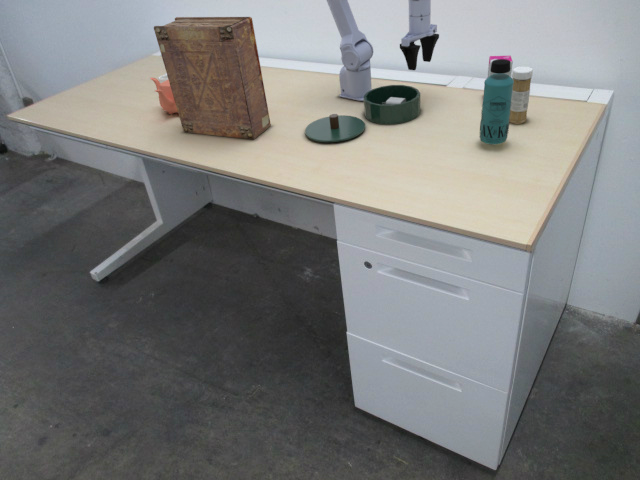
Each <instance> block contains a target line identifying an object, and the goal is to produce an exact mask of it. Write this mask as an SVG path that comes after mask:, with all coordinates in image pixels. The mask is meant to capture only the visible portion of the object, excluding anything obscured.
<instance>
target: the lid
mask: <svg viewBox="0 0 640 480" xmlns="http://www.w3.org/2000/svg"><path fill="white" fill-rule="evenodd" d="M365 129H366V124H365V121H364V120H363V119H361V118H359V117H357V116H352V115H347V114H345V115H343V114H342V115H338V114H337V113H332V114H330V115H329V116H325V117H321V118H318V119H316V120H314V121H311V122H310V123H309V124H308V125H307V126H306V127H305V129H304V134H305V136H306V138H308V139H310V140H311V141H315V142H317V143H318V142H319V143H338V142H344V141H348V140H351V139H353V138H356V137H358V136H360V135H361V134H362V133H363V132H364V131H365Z"/></svg>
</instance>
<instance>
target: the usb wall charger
mask: <svg viewBox="0 0 640 480" xmlns="http://www.w3.org/2000/svg"><path fill="white" fill-rule="evenodd" d="M404 102H406V98H396V97H390V98H389V99H388V100H387V101H386V102H382V105H392V104H400V103H404ZM383 103H384V104H383Z"/></svg>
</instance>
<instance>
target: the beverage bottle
mask: <svg viewBox="0 0 640 480" xmlns="http://www.w3.org/2000/svg"><path fill="white" fill-rule="evenodd" d="M490 71H491V72H493V73H498V74H493V75H491V76H489V77H488V76H487V77H488V78H486V79H485V80H484V81H483V82H484V83H483V84H484V85H483V87H484V88H483V97H482V104H481V111H480V123H479V140H480V141H481V142H482V143H484V144H487V145H500V144H503V143H505V142H506V141H507V139H508V136H509V129H510V123H511V122H509V117H510V112H511V111H510V109H511V99H512V90H513V84H514V80H513V77H512V76H511V77H510V76H509V75H507V74H502V73H507V72H509V71H510V61H509V60H506V59H497V60H494V61H492V65H491V70H490Z"/></svg>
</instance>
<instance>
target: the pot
mask: <svg viewBox="0 0 640 480" xmlns="http://www.w3.org/2000/svg"><path fill="white" fill-rule="evenodd" d="M390 97H396V98H406V102H404V103H400V104H392V105H382V102H386V101H387V100H388V99H389V98H390ZM383 104H384V103H383ZM363 108H364V109H363V110H364V116H365V119H366V120H367V121H369V122H371V123H374V124H379V125H399V124H405V123H407V122H410V121H412V120H415V119H416V118H417V117H418V116H419V115H420V113H421V91H420V90H419V89H418V88H416V87H413V86H412V85H405V84H389V85H382V86H377V87H375V88H372V90H370V91H368V92H367V93H366V94H365V95H364V101H363Z"/></svg>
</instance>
